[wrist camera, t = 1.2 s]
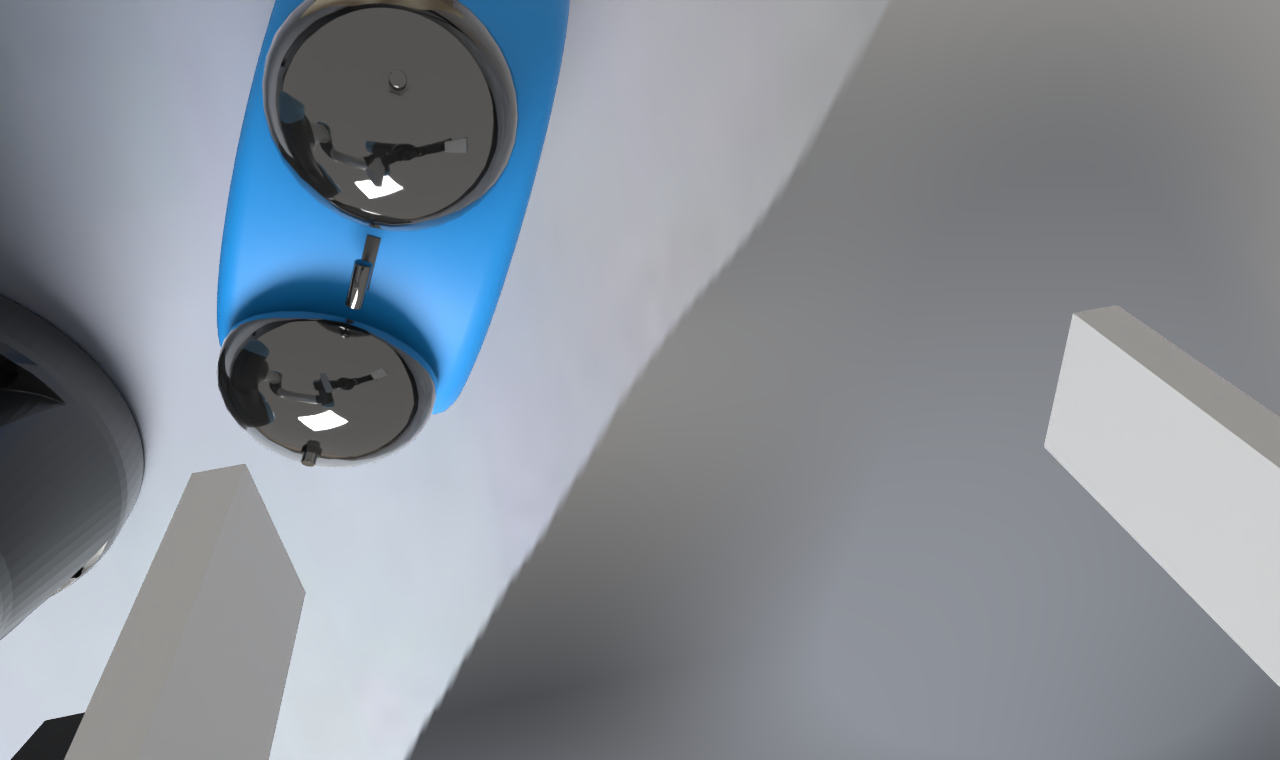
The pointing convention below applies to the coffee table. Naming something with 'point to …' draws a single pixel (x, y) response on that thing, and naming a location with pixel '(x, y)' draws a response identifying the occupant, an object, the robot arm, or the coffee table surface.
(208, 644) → the robot arm
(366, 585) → the coffee table surface
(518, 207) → the alarm clock
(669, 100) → the coffee table surface
